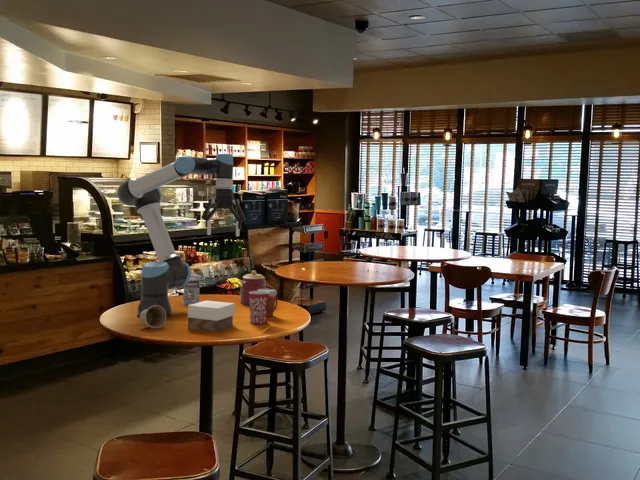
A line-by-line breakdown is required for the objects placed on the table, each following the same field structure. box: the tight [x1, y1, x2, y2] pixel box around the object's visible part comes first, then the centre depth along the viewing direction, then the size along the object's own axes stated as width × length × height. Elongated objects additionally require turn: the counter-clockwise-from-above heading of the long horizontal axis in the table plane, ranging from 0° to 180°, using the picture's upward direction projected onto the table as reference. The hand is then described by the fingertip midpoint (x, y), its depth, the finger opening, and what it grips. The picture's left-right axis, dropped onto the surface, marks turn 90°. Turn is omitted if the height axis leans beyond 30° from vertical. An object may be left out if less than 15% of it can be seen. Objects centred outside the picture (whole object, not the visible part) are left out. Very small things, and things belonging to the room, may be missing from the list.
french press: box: [177, 253, 201, 305], centre depth 318 cm, size 10×12×25 cm
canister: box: [239, 269, 267, 306], centre depth 319 cm, size 13×13×18 cm
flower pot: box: [139, 305, 167, 329], centre depth 263 cm, size 9×9×9 cm
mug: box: [249, 291, 278, 325], centre depth 276 cm, size 13×9×14 cm
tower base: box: [187, 315, 234, 333], centre depth 265 cm, size 14×14×5 cm
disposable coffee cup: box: [257, 288, 278, 318], centre depth 292 cm, size 10×10×12 cm
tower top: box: [187, 299, 236, 321], centre depth 265 cm, size 14×14×5 cm
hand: (223, 235), depth 287 cm, fingers open, 13 cm apart
